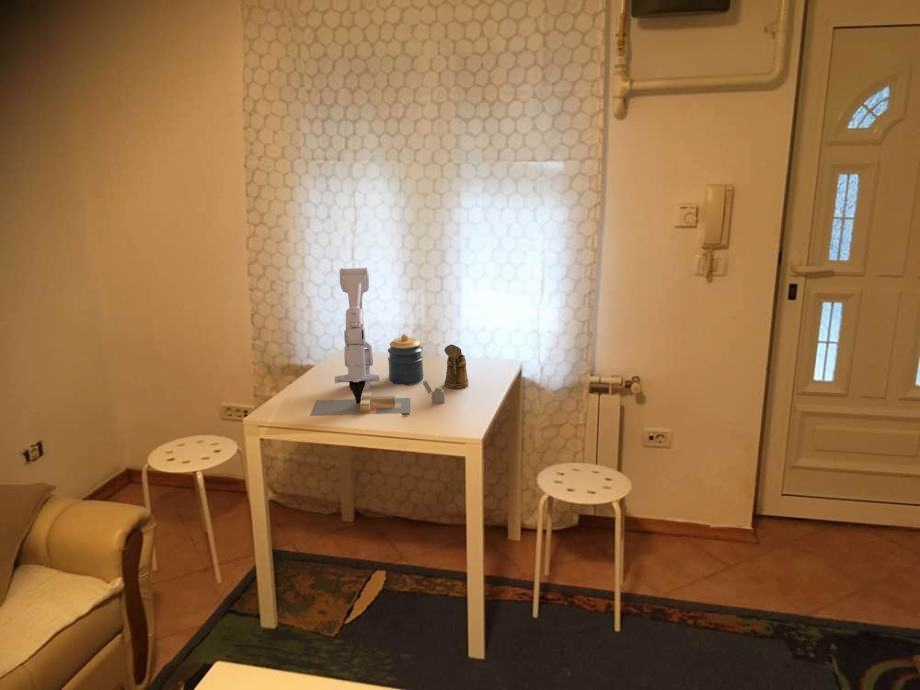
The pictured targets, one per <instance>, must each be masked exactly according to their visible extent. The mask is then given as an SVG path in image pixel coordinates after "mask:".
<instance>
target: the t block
mask: <svg viewBox="0 0 920 690" xmlns="http://www.w3.org/2000/svg"><path fill="white" fill-rule="evenodd" d="M395 398H396V395H395V394H393V395H373V391H364V392H362V395H361V402H360V413H370V409H371V408H382V407H395Z"/></svg>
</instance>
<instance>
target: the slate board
mask: <svg viewBox="0 0 920 690" xmlns="http://www.w3.org/2000/svg"><path fill="white" fill-rule="evenodd" d="M310 412H311V413H310V414H309V417H315V416H316V417H317V416H320V417H321V416H349V415H350V416H353V415H382V414H383V415H385V414H388V415H389V414H401V415H409V416H410V413H411V397H395V407H382V408H371V409H370V413H360V404H356V399H355V398H354V399H353V398H352V399H349V398H348V399H318V400H317V399H316V401H315V403H314V405H313V408H312V410H311V411H310Z"/></svg>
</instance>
